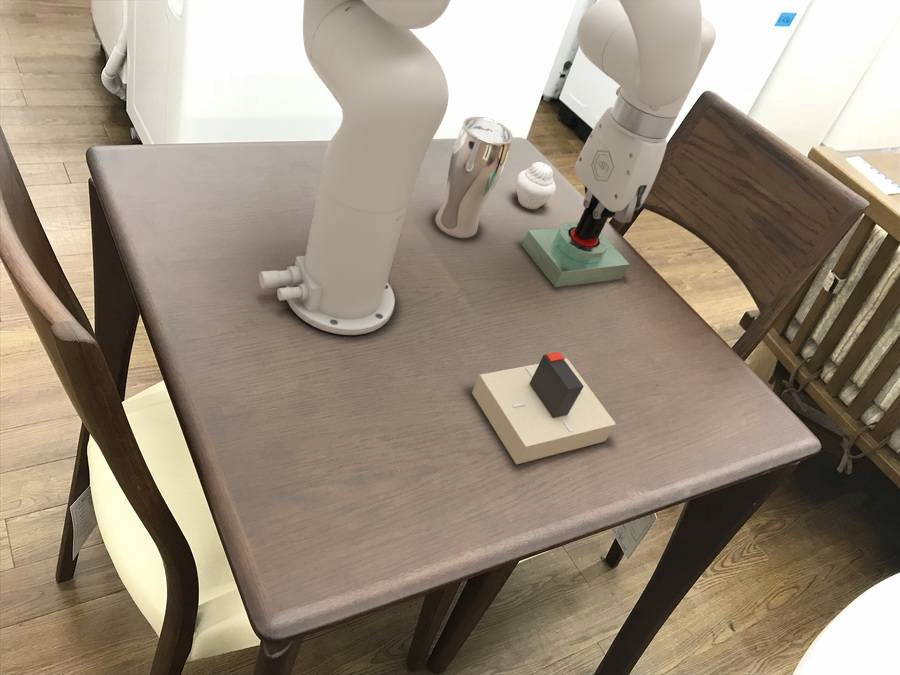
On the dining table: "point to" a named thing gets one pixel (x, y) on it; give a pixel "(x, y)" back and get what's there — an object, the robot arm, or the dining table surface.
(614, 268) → the housing
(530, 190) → the muffin
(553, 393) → the knob
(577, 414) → the dial panel
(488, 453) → the dining table surface
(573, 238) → the button
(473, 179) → the beer glass
